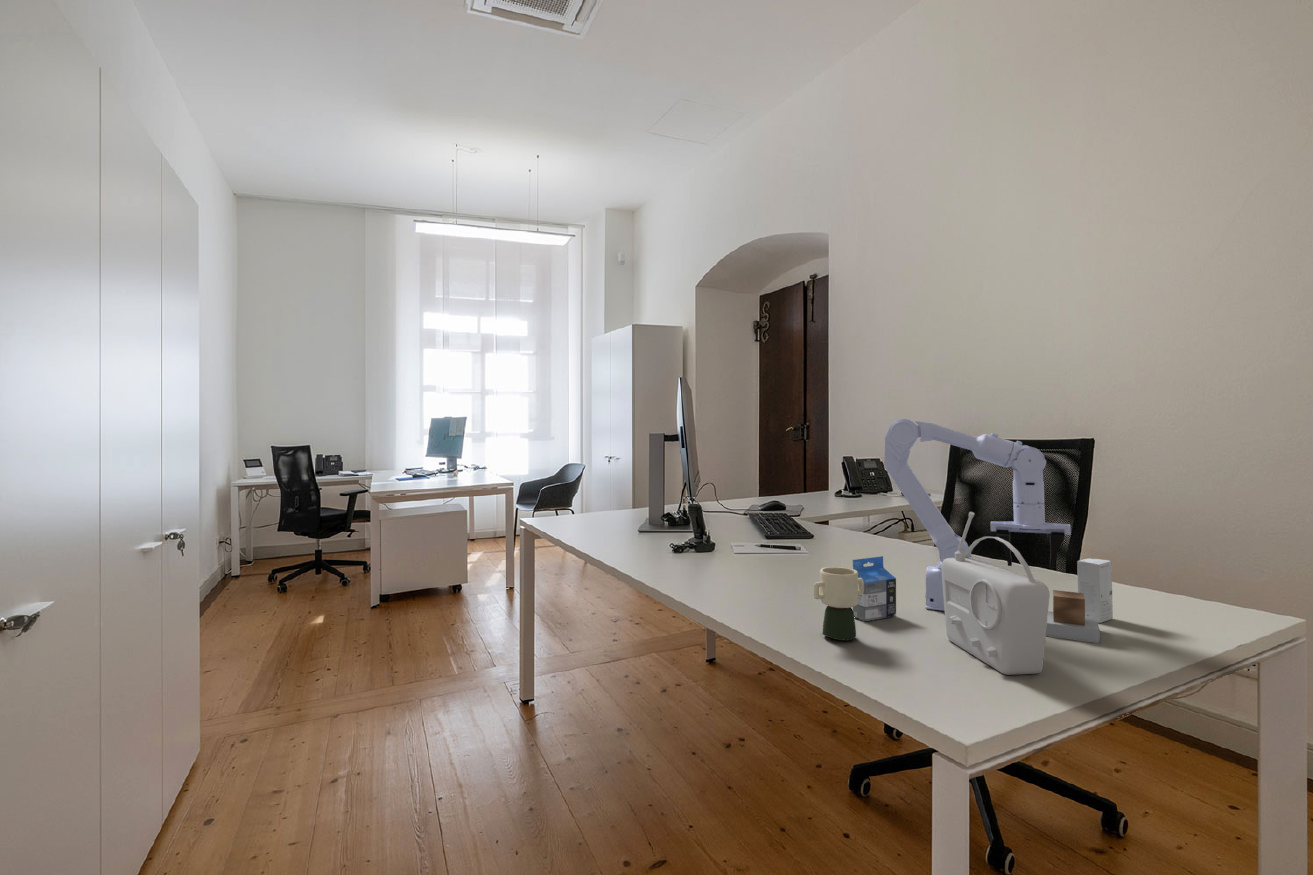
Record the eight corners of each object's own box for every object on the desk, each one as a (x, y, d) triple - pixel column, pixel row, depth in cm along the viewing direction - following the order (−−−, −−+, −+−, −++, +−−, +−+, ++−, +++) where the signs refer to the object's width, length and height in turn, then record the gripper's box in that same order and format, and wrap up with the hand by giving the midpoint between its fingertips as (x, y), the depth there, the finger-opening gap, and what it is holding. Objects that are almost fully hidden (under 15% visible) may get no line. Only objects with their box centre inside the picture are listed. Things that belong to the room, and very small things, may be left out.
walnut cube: (1053, 621, 120) (1053, 595, 120) (1053, 614, 124) (1053, 589, 124) (1085, 625, 117) (1084, 599, 117) (1083, 618, 122) (1083, 593, 122)
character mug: (852, 629, 125) (851, 564, 124) (875, 640, 118) (874, 572, 118) (804, 635, 121) (803, 568, 121) (824, 647, 114) (824, 577, 114)
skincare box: (1100, 623, 126) (1100, 564, 126) (1076, 618, 130) (1076, 560, 130) (1113, 618, 130) (1113, 560, 129) (1089, 613, 133) (1089, 557, 133)
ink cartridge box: (865, 622, 129) (865, 563, 129) (851, 617, 132) (851, 559, 132) (897, 616, 133) (896, 559, 132) (883, 611, 136) (882, 555, 136)
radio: (932, 636, 120) (931, 507, 119) (973, 635, 120) (972, 506, 120) (1003, 682, 98) (1003, 524, 98) (1053, 680, 98) (1053, 523, 98)
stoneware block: (1042, 637, 120) (1042, 622, 120) (1042, 625, 127) (1042, 610, 127) (1099, 645, 115) (1099, 629, 115) (1095, 632, 123) (1095, 616, 123)
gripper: (988, 503, 132) (990, 567, 133) (1070, 505, 125) (1072, 573, 125) (990, 500, 139) (992, 561, 139) (1068, 502, 131) (1070, 566, 131)
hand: (1030, 566), depth 132 cm, fingers open, 7 cm apart
